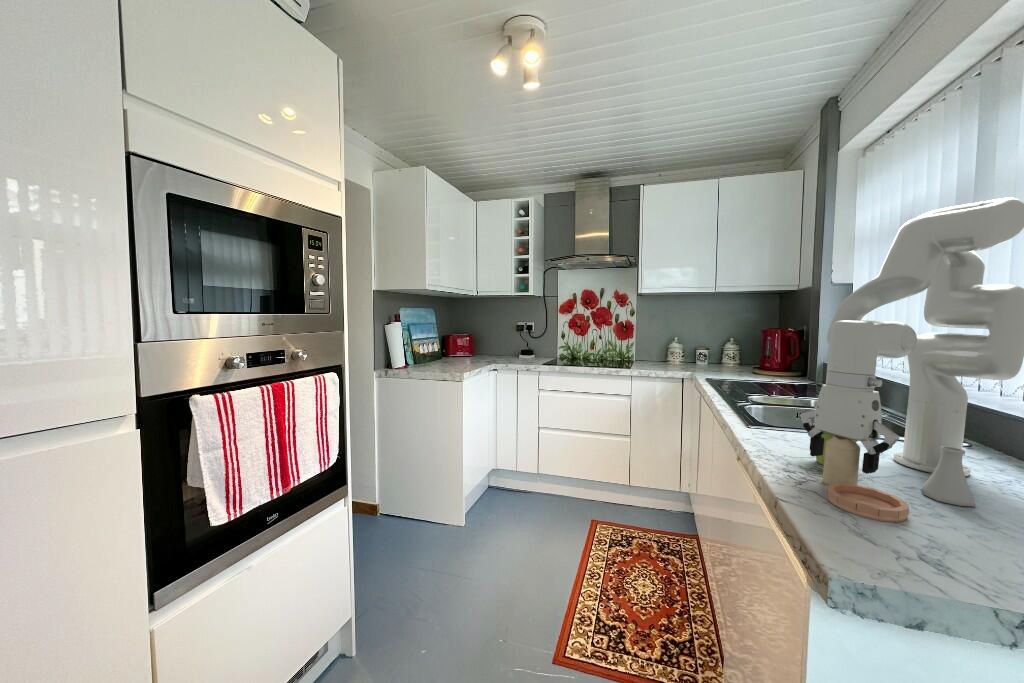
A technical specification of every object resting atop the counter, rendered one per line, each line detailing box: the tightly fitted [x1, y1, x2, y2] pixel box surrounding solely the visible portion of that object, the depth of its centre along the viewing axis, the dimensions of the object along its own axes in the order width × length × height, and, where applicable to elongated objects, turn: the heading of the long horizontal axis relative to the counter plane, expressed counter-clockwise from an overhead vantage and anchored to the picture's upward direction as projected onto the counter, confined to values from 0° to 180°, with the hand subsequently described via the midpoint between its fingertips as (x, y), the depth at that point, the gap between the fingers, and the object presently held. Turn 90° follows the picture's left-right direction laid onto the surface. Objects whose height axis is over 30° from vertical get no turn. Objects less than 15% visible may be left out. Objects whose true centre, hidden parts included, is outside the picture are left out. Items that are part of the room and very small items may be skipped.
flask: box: [920, 446, 977, 507], centre depth 78 cm, size 7×7×10 cm
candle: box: [822, 435, 861, 486], centre depth 83 cm, size 6×6×10 cm
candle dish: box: [826, 483, 910, 523], centre depth 74 cm, size 11×11×2 cm
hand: (841, 463), depth 83 cm, fingers open, 9 cm apart
